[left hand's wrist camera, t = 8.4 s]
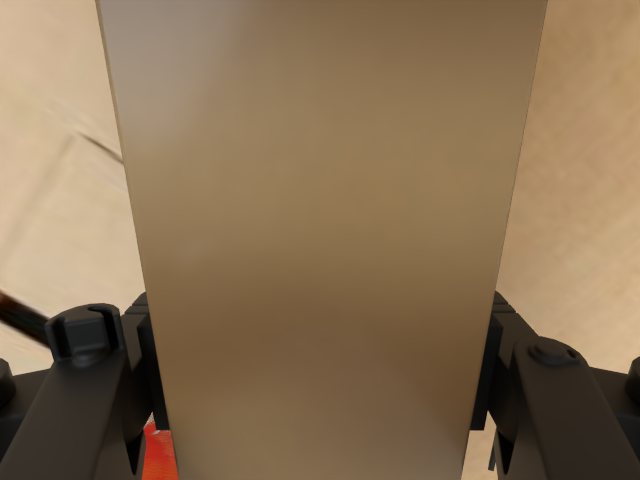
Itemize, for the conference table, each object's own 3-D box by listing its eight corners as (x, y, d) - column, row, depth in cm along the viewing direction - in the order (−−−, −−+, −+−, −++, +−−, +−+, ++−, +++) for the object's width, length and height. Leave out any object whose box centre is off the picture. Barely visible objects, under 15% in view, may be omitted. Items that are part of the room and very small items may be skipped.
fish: (159, 356, 23) (115, 576, 17) (329, 400, 33) (339, 551, 27) (82, 398, 28) (27, 576, 22) (247, 425, 38) (240, 555, 32)
